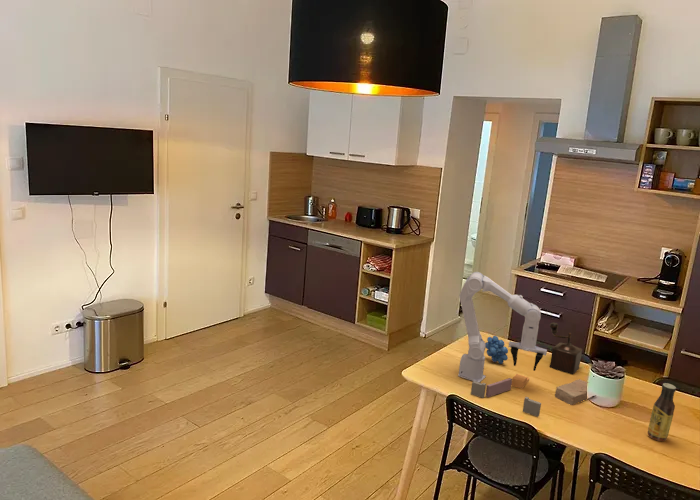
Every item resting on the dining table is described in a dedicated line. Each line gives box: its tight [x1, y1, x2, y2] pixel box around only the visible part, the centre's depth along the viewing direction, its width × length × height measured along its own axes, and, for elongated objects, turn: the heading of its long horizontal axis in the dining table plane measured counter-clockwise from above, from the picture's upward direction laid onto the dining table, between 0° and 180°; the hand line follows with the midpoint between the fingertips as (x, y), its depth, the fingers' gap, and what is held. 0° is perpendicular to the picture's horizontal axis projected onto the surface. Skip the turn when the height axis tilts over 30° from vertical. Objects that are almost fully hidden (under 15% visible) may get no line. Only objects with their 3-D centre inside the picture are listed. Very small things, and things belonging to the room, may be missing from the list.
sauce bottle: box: [647, 382, 677, 442], centre depth 187 cm, size 6×6×20 cm
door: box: [485, 377, 512, 398], centre depth 214 cm, size 14×2×4 cm, turn 126°
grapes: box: [485, 335, 509, 365], centre depth 242 cm, size 12×7×12 cm, turn 44°
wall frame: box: [470, 381, 542, 418], centre depth 205 cm, size 26×2×6 cm, turn 56°
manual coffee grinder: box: [549, 322, 583, 375], centre depth 243 cm, size 16×11×18 cm
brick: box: [554, 378, 589, 406], centre depth 216 cm, size 17×8×5 cm, turn 124°
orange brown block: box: [511, 373, 530, 390], centre depth 224 cm, size 4×9×4 cm, turn 146°
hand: (524, 367), depth 219 cm, fingers open, 7 cm apart
